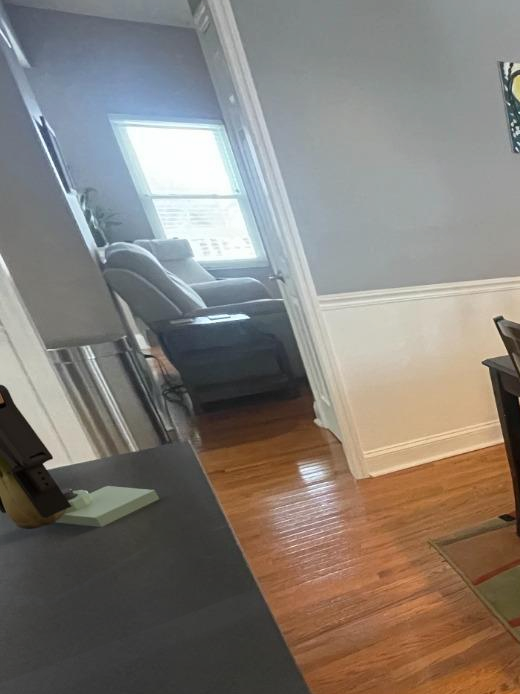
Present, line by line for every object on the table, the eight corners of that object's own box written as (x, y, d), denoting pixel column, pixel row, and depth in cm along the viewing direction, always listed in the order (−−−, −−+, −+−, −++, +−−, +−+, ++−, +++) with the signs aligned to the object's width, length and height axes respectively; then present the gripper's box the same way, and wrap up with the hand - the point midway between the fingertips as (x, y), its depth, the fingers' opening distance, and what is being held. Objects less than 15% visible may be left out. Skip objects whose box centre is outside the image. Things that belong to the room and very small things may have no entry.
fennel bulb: (23, 520, 79) (-37, 439, 73) (74, 506, 82) (21, 427, 76) (15, 538, 75) (-49, 454, 69) (69, 523, 78) (13, 441, 72)
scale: (44, 523, 99) (31, 505, 97) (109, 494, 107) (98, 477, 106) (97, 529, 97) (85, 511, 95) (159, 499, 105) (149, 482, 103)
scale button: (50, 503, 99) (44, 495, 98) (69, 495, 101) (63, 487, 100) (62, 504, 98) (56, 496, 97) (80, 496, 100) (75, 488, 100)
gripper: (-196, 343, 65) (-55, 518, 76) (-73, 348, 62) (57, 532, 72) (-99, 325, 72) (19, 489, 83) (18, 328, 68) (125, 500, 79)
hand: (36, 509), depth 78 cm, fingers closed on fennel bulb, 6 cm apart
